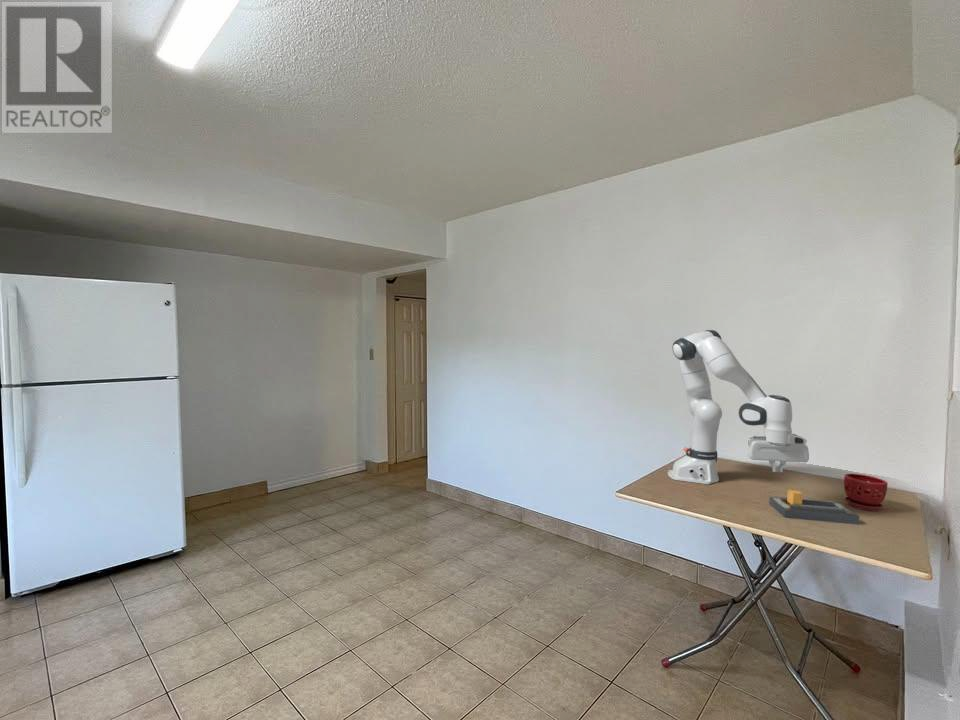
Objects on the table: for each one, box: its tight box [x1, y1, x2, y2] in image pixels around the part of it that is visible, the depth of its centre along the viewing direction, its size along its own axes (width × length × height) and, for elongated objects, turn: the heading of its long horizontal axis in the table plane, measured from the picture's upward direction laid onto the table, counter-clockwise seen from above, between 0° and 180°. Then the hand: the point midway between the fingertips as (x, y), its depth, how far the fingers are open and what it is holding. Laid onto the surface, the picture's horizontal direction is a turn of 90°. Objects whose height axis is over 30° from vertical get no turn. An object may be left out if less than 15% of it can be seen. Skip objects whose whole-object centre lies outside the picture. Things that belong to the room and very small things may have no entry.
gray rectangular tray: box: [768, 496, 860, 525], centre depth 168 cm, size 24×14×4 cm, turn 77°
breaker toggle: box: [786, 488, 803, 505], centre depth 170 cm, size 3×5×5 cm, turn 167°
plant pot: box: [843, 473, 889, 511], centre depth 176 cm, size 13×13×12 cm
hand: (777, 471), depth 170 cm, fingers closed
